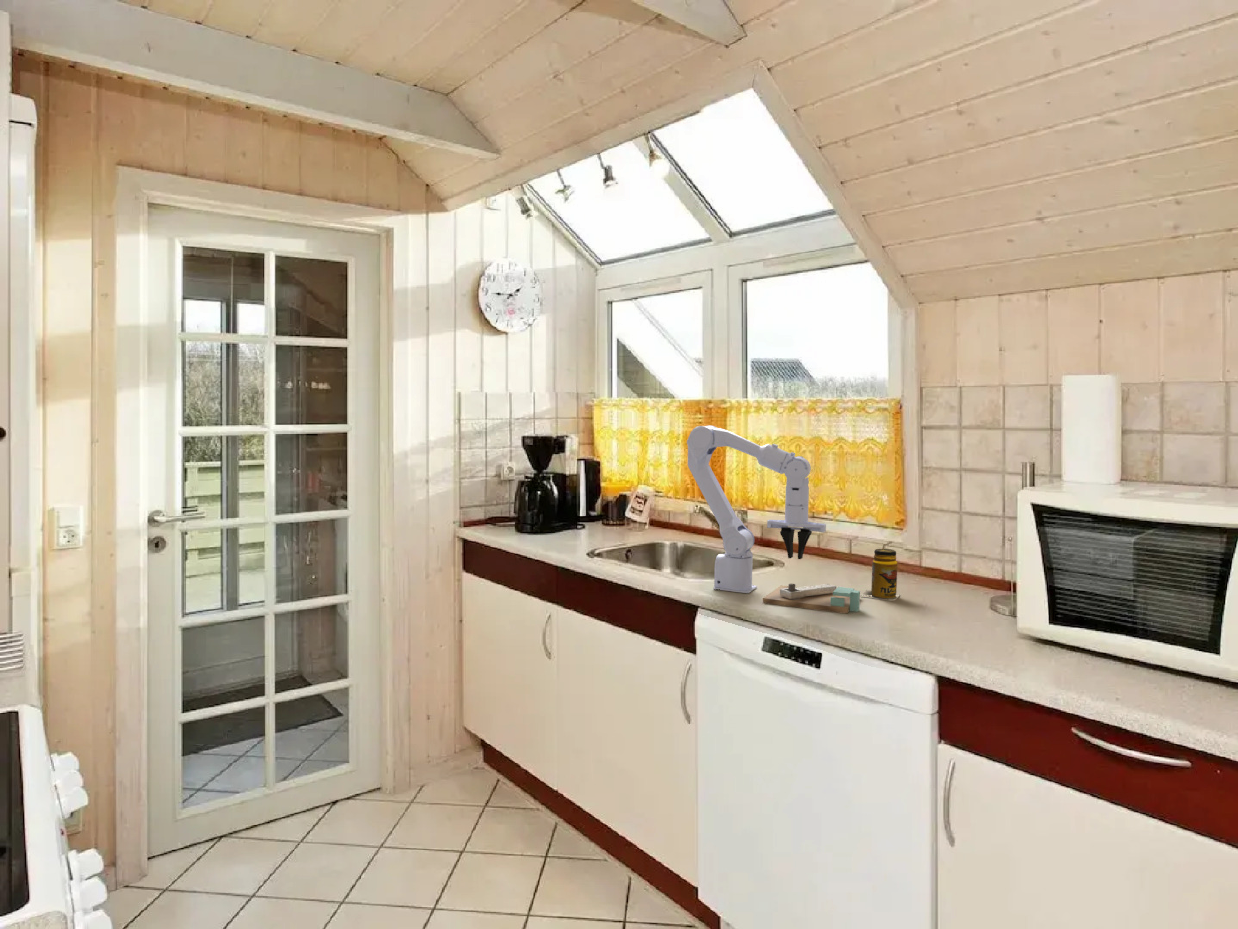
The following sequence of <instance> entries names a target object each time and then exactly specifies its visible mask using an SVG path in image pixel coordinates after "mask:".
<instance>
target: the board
mask: <svg viewBox="0 0 1238 929" xmlns="http://www.w3.org/2000/svg"><path fill="white" fill-rule="evenodd" d="M797 587H798V586H796V583H788V585H783V584H782V585H779V586H778V587H775V589H774V590H772V591H770V592H769V593H768V594H766V595H765V596H764V597H763V598H762V604H767V603H769V605H776V606H784V607H785V606H786V607H792V608H793V607H794V608H801V609H808V610H815V611H823V612H830V613H831V612H832V613H833V612H834V613H839V614H846V613H847V614H848V613H849V612H850V597H845V596H836V595H833V593H828V594H821V595H813V596H805V597H802V598H795V599H789V598H786V597H783V596H780V589H784V588H788V591H790V592H793V591H795V588H797ZM831 597H837V598H845V601H844V607H840V606H832V605H830V604H831Z"/></svg>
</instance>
